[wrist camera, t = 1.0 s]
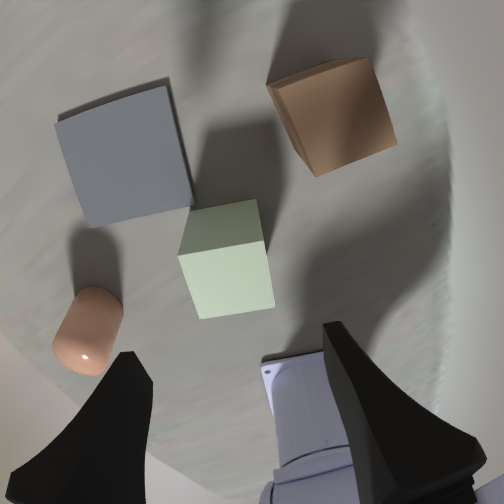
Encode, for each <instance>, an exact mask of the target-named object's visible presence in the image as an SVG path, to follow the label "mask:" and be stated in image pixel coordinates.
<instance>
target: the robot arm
mask: <svg viewBox="0 0 504 504" xmlns="http://www.w3.org/2000/svg"><path fill="white" fill-rule="evenodd" d="M261 372H262V376H263V380H264V384H265V387H266V391H267V395H268V399H269V403H270V407H271V411H272V415H273V417H274V421H275V430H276V438H277V446H278V454H279V463H280V468H279V469H275V470H273V474H274V481H270V482H268V483H267V484H266V486H265V488H264V490H263V491H262V493H261V496H260V502H259V504H504V474H503V475H501V476H499V477H498V478H496V479H494V480H492V481H491V482H489V483H487V484H485V485H483V486H482V487H480V488H478V489H477V490H475V491H474V490H473V487H472V485H473V484H474V480H473V476H472V475H473V474H474V473H475V472H476V471H477V470H479V469H480V468H481V467H482V466H483V465H484V464H485V463H486V460H487V457H486V455H485V453H484V450H483V449H482V447H481V445H480V444H479V442H478V440H477V439H476V438H475V437H473V436H471V435H469V434H467V433H465V432H463V431H461V430H459V429H457V428H455V427H454V426H452V425H450V424H449V423H447V422H445V421H443V420H442V419H440V418H439V417H437V416H436V415H434V414H433V413H431V412H430V411H428V410H427V409H425V408H424V407H422V406H421V405H420V404H418V403H417V402H416V401H415V400H413V399H412V398H411V397H409V396H408V395H407V394H406V393H405V392H403V391H402V390H401V389H400V388H399V387H398V386H397V385H395V384H394V383H393V382H392V381H391V380H390V379H389V378H388V377H387V376H386V375H385V374H384V373H383V372H382V371H381V370H380V369H379V368H378V367H377V366H376V365H375V364H374V362H373V361H372V360H371V359H370V358H369V357H368V356H367V355H366V353H365V352H364V351H363V350H362V349H361V348H360V346H359V345H358V344H357V343H356V341H355V340H354V339H353V337H352V336H351V335H350V333H349V332H348V331H347V329H346V328H345V327H344V325H343V324H342V322H340V321H335V322H330V323H325V324H323V351H322V352H317V353H312V354H307V355H302V356H297V357H291V358H285V359H280V360H274V361H268V362H263V363H262V364H261ZM152 402H153V381H152V380H151V378H150V377H149V375H148V374H147V372H146V370H145V369H144V367H143V366H142V364H141V362H140V361H139V359H138V358H137V356H136V354H135V353H134V351H130V352H120V353H119V355H118V356H117V358H116V359H115V361H114V362H113V363H112V365H111V366H110V368H109V369H108V371H107V372H106V374H105V375H104V377H103V378H102V380H101V381H100V383H99V384H98V386H97V387H96V389H95V390H94V392H93V393H92V395H91V396H90V397H89V399H88V400H87V401H86V403H85V404H84V405H83V407H82V408H81V409H80V411H79V412H78V413H77V415H76V416H75V417H74V419H73V420H72V421H71V422H70V423H69V424H68V425H67V426H66V428H65V429H64V430H63V431H62V432H61V433H60V434H59V435H58V436H57V437H56V438H55V439H54V440H53V441H52V442H51V443H50V444H49V445H48V446H47V447H45V449H43V450H42V451H41V452H40V453H39V454H38V455H36V456H35V457H33V458H32V459H31V460H29V461H28V462H27V463H25V464H24V465H22V466H21V467H19V468H18V469H16V470H15V471H13V472H11V475H10V479H9V483H8V487H7V491H6V495H5V497H6V499H7V500H9V501H10V502H12V503H14V504H146V499H145V476H144V475H145V474H144V473H145V451H146V444H147V437H148V431H149V424H150V418H151V411H152Z"/></svg>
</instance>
